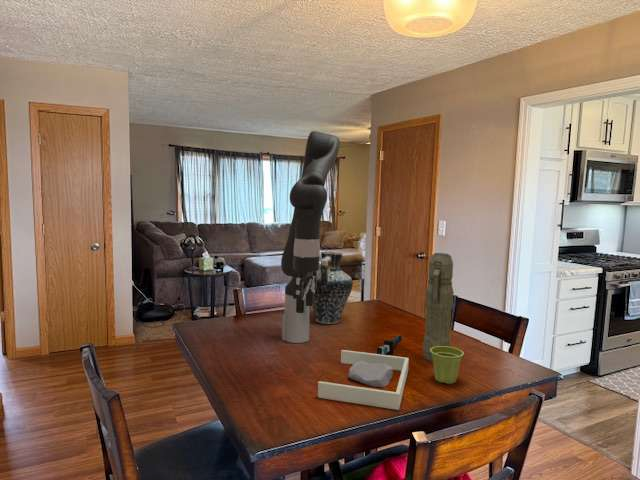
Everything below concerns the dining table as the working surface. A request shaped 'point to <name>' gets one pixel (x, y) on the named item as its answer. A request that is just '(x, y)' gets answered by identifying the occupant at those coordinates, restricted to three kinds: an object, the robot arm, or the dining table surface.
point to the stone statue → (438, 303)
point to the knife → (389, 346)
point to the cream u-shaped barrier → (367, 394)
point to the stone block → (371, 373)
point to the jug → (331, 289)
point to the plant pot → (446, 363)
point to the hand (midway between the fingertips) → (304, 309)
